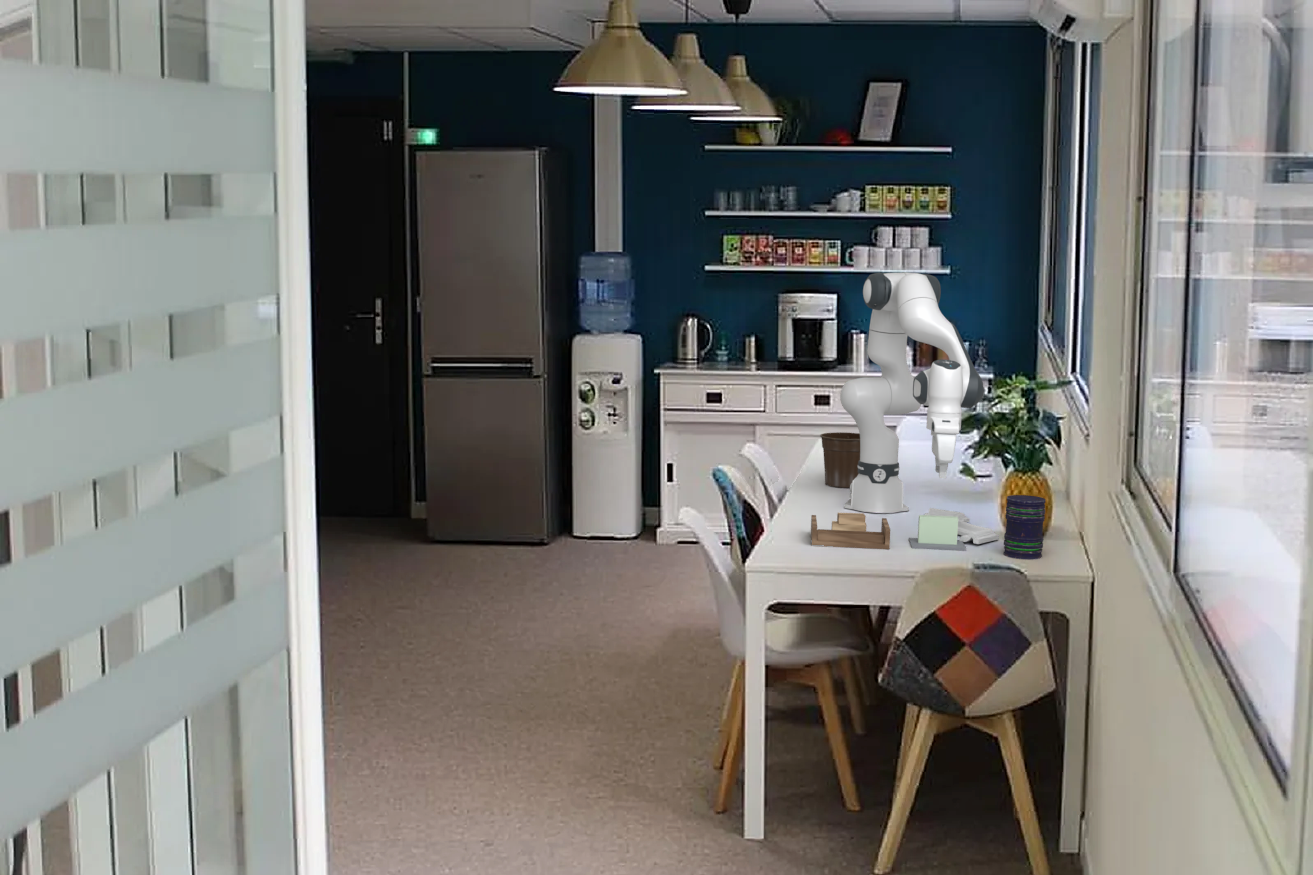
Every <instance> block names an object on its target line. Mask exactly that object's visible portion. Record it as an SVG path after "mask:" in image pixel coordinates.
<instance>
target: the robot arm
mask: <svg viewBox="0 0 1313 875" xmlns="http://www.w3.org/2000/svg"><path fill="white" fill-rule="evenodd" d="M941 292H942V290H941V283H940V281H939V280H938V278H937V277H936V276H934V275H931V274H929V273H928V274H927V273H923V274H921V273H919V272H918V273H917V272H907V271H906V272H904V271H903V272H887V273H883V272H875V273H871V274H869V276H868V277H867V278H866V279H865V281H864V284H863V289H862V295H863V296H862V297H863V301H864V304H865V305H866V306H867V307H868V308H869V309H872V311H871V315H870V322H869V329H868V330H869V331H868V338H867V339H868V341H867V351H866V353H867V356H868V358H869V359H870V360H871V361H872V362H873V363H874V364H876V365H877V366H879V367H880V369H881V370H880V371H881V377H879V376H878V377H876V376H875V377H873V376H872V377H858V378H854V379H850V380H847V381H846V382H845V383H844V385H843V386H842V387H841V390H840V392H839V393H840V395H839V399H840V404H841V406H842V408H843V409H844V410H845V411H846V412H847V413H848V414H849V415H850V416H851V417H852V418H853V420H854V422H855V424H856V426H857V428H858V433H860V460H859V461H858V473H859V474H858V476H857V477H856V478H855V479H854V480H853V482H852V483H851V484H850V488H849V492H850V494H849V497H850V498H849V500H847V501H846V502H845V503H844V504H843V508H844V509H850V510H855V511H857V512H863V513H864V512H865V513H877V514H894V513H900V512H909V506H908V505H906V504H905V503H904V482H903V481H902V480H901V479H900V477H899V474H900V463H899V447H900V446H899V444H900V439H899V436H898V434H897V433H896V431H894V430H893V429H892V428H889V427H887V426H886V423H885V419H884V415H885V416H886V415H887V416H888V415H889V416H891V415H893V416H895V415H906V414H910V413H914V412H918V410H919V409H920V408H921V406H926V407H927V410H926V429H927V430H929V431H930V435H931V436H932V438H931V452H932V454H933V455H934V458H935V460H934V461H935V469H934V470H935V472H936V473H938V477H939V479H943V480H945V479H947V473H948V472H947V471H948V467H949V464H952V463H953V461H954V458H955V450H956V444H957V435H959V434H960V431H961V429H962V412H963V411H962V408H963V409H972V408H974V407H975V406H976V405H977V404H979V402H981V400H982V399H983V396H984V390H985V387H984V382H983V380H982V377H981V375H980V374H979V372H978V371H977V369H976V368H975V366H974V363H973V362H972V360H971V357H970V355H969V352H968V350H967V348H966V345H965V343H964V340H963V339H962V337H961V334H960V333H959V330H958V329H957V327H956V326H955V325H954V323H952V322H950V321H949V320H948V319H947V318H946V317H945V316H944V314H943V313H942V311H941V310H940V308H939V303H940V302H941V301H940V299H941V296H942V295H941ZM908 337H909V338H911V339H912V340H914V341H917V342H920V343H923V344H927V345H931V346H933V347H935V348H938V349H940V350H942V351H943V352H944V353H945V354H946V355H947V356H948V359H936V360H934V361H933V362H932V363H931V367H930V368H928V369H925V370H921V371H920V372H918V373H917V374H916V375H915V377H914V376H913V374H912V373H911V370H910V369H909V368H910V367H909V364H908V360H907V349H908V348H907V347H908V343H907V342H908Z"/></svg>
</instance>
